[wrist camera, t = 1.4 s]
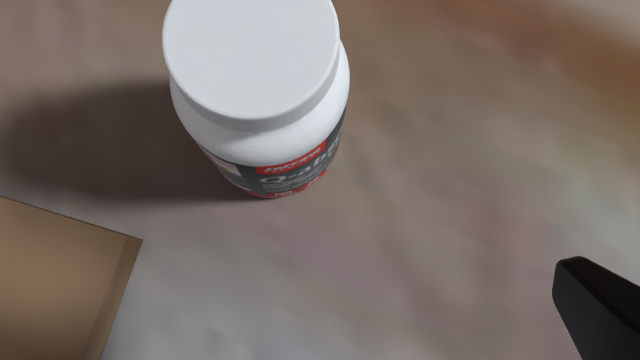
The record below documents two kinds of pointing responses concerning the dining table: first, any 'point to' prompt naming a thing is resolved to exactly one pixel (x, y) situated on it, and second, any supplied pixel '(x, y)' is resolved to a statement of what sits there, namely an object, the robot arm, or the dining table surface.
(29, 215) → the wooden board
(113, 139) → the dining table surface
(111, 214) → the dining table surface
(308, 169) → the pill bottle
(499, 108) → the dining table surface
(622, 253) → the dining table surface
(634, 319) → the robot arm
